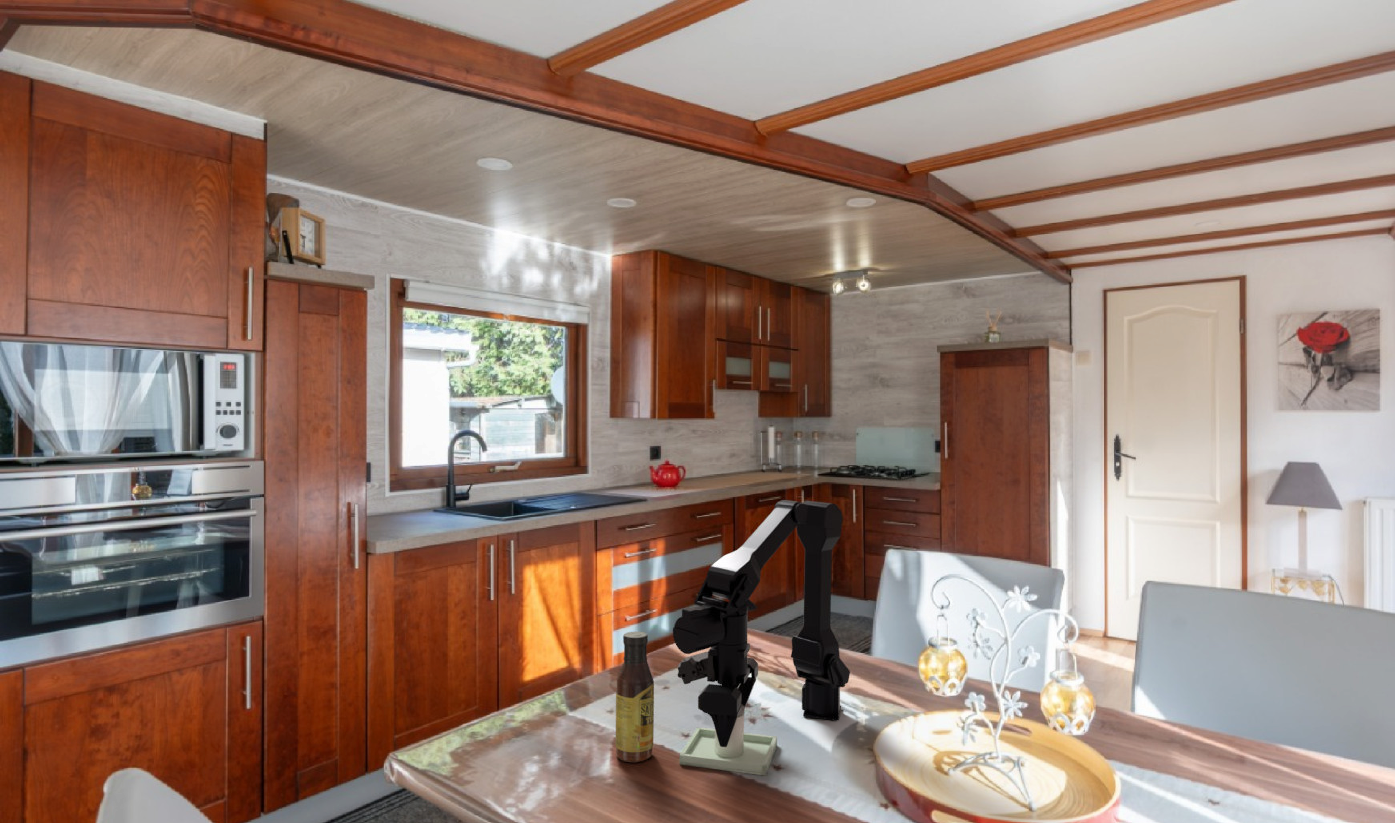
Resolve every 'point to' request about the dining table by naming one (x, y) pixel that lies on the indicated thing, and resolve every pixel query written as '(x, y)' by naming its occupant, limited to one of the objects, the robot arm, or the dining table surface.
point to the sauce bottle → (634, 701)
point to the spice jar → (733, 739)
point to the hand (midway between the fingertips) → (729, 734)
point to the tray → (751, 761)
